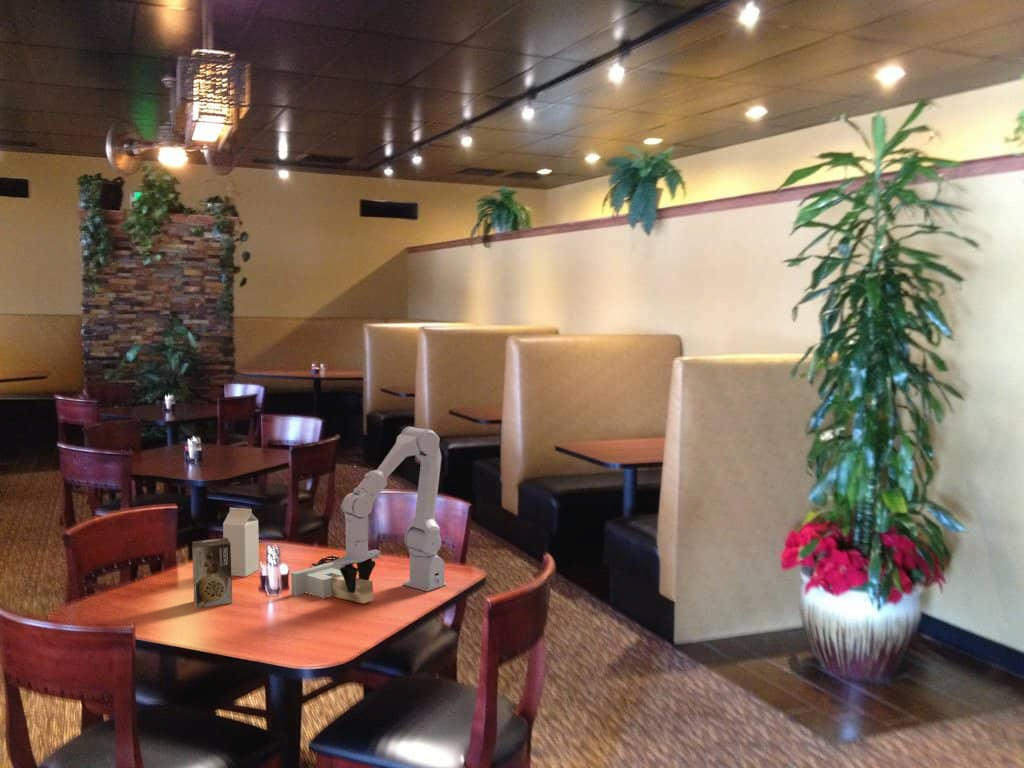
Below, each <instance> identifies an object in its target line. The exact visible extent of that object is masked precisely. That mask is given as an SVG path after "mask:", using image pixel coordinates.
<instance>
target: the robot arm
mask: <svg viewBox="0 0 1024 768" xmlns="http://www.w3.org/2000/svg"><path fill="white" fill-rule="evenodd" d="M440 439H441V438H440V437H439V436H438V434H437V433H436V432H435V431H434V430H432V429H429V428H428V429H424V428H417V427H414V426H406V427H405V428H403V429H402V431H401V433H400V434H398V435H397V437H396V439H395V440H396V441H395V444H394V445H393V446H392V447H391V449H390V450H389V452H388V454H387V455H386V456H385V458H384V459H383V461H382V462H381V464H379V466H378V467H377V469H374V470H370V471H369V472H366V473H365V474H364V478H363V479H362V480H361V482H360V483H359V484H358V485H357V487H355V488H354V489H353V491H352V492H350V493H348V494H346V495H345V496H344V498H343V500H342V503H340V509H341V511H342V512H343V515H344V520H345V553H344V555H343V556H342V557H339V559H337V560H335V561H333V568H334V569H337V570H338V569H339V570H340V571H341V573H342V575H343V577H344V580H345V583H346V586H347V590H348V592H351V593H355V587H356V578H357V575H358V578H359V579H364V580H369V581H370V577H371V574H372V572H373V570H374V568H375V567H376V561H375V560H373V559H380V558H381V550H378V549H372V550H369V526H368V525H369V523H368V522H369V514H371V512H372V511H373V506H374V503H375V500H376V499H377V498H378V497H379V496H380V494H381V493H382V492H383V491H384V489H385V488H386V487H387V486H388V477H389V476H390V475H391V474H392V473H393V472H394V471H395V469H396V468H398V466H400V464H401V463H402V462H403V461H404V460H405V459H406V458H407V457H411V456H416V458H417V459H418V460H419V461H420V468H419V469H420V470H419V475H418V476H419V477H418V478H419V479H418V487H417V494H416V495H417V496H416V505H415V512H414V518H413V519H411V521H409V522H408V527H407V530H406V532H405V534H404V539H403V540H404V545H405V546H406V547H407V548H408V553H409V580H408V581H406V582H405V581H404V582H403V583H402V585H404V586H407V587H411V588H413V589H417V590H421V591H425V592H429V591H432V590H435V589H437V588H441V587H444V586H447V583H446V582H445V562H444V559H443V558H441V557H440V556H439V555H438V552H439V551H440V548H441V545H442V539H441V538H442V537H441V535H440V534H441V533H440V532H441V527H440V526H439V525H438V523H437V522H436V519H435V517H436V509H437V500H438V490H439V483H440V482H439V481H440V476H441V475H440V473H441V464H442V452H441V450H440ZM355 564H356V567H355Z"/></svg>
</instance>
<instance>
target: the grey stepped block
mask: <svg viewBox="0 0 1024 768" xmlns="http://www.w3.org/2000/svg"><path fill="white" fill-rule="evenodd" d="M290 573H291V577H290V578H291V583H290V584H291V596H294V595H295V596H294V597H299V596H301V594H302V595H304V594H303V593H306V592H307V593H306V594H308V593H311V594H313V595H312V596H314V595H316V596H315V597H317V596H319V597H318V598H320V597H321V599H323V598H324V599H326V598H325V597H327V598H329V596H330V597H333V596H332V595H333V584H332V578H333V577H338V576H341V575H342V573H341V571H340V570H339V569H338V570H337V569H334V568H333V562H330V563H323V564H322V563H321V564H319V566H315V567H312V566H311V567H308V568H304V569H300V570H297V571H293V572H290ZM311 594H310V595H311ZM298 595H299V596H298Z"/></svg>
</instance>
